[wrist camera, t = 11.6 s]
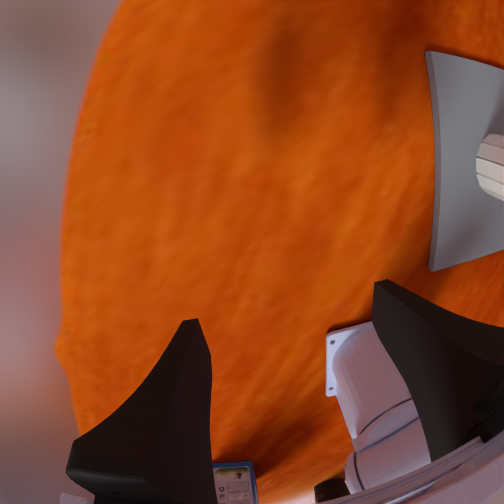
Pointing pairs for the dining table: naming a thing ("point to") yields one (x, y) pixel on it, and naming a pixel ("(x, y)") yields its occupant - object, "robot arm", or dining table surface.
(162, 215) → the dining table surface
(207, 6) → the dining table surface
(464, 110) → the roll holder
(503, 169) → the paper roll
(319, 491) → the coffee mug
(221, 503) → the milk carton
